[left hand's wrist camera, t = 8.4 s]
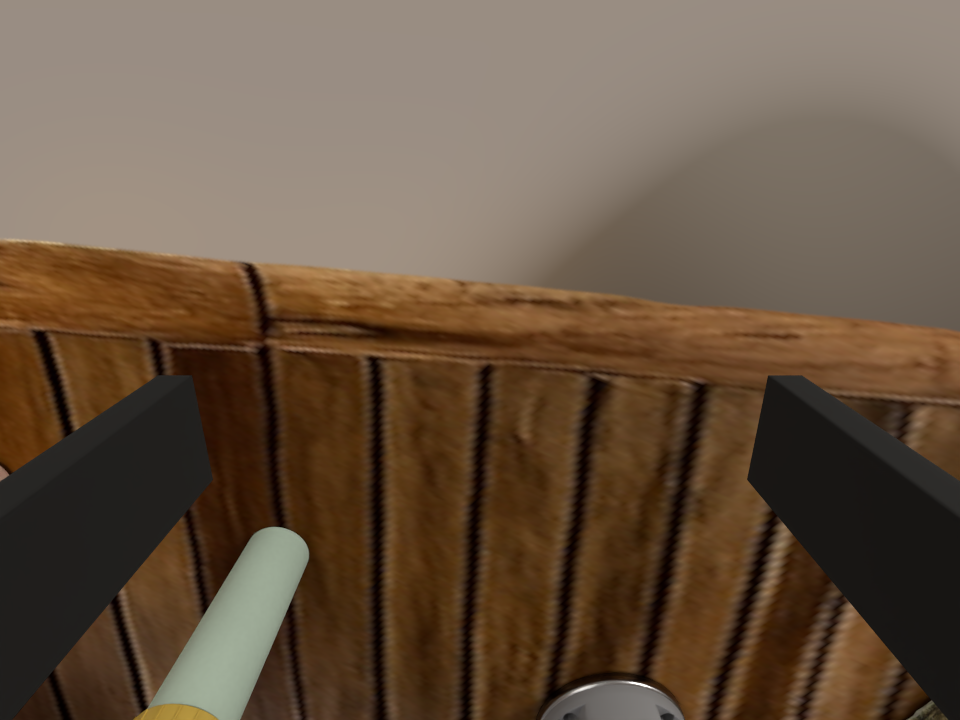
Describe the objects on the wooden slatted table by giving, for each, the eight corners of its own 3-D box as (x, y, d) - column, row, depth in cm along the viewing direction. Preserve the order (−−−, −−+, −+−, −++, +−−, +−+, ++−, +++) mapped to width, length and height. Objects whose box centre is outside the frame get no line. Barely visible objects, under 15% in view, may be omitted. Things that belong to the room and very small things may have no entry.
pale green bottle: (300, 583, 49) (204, 810, 32) (242, 565, 49) (111, 788, 31) (316, 537, 48) (222, 752, 30) (255, 519, 47) (124, 728, 30)
